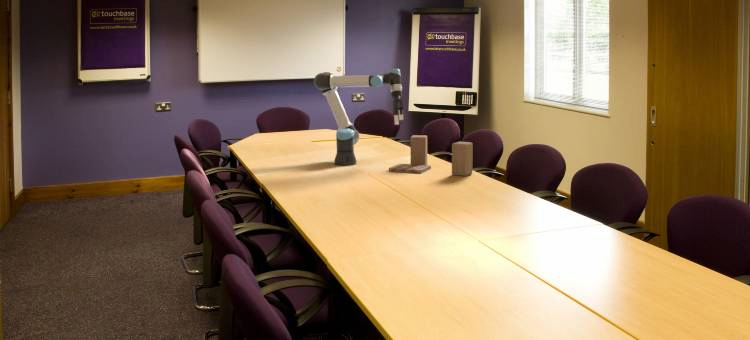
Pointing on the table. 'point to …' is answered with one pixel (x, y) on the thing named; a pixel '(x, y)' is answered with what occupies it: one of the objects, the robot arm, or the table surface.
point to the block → (462, 158)
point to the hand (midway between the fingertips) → (399, 122)
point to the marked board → (410, 168)
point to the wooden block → (419, 150)
